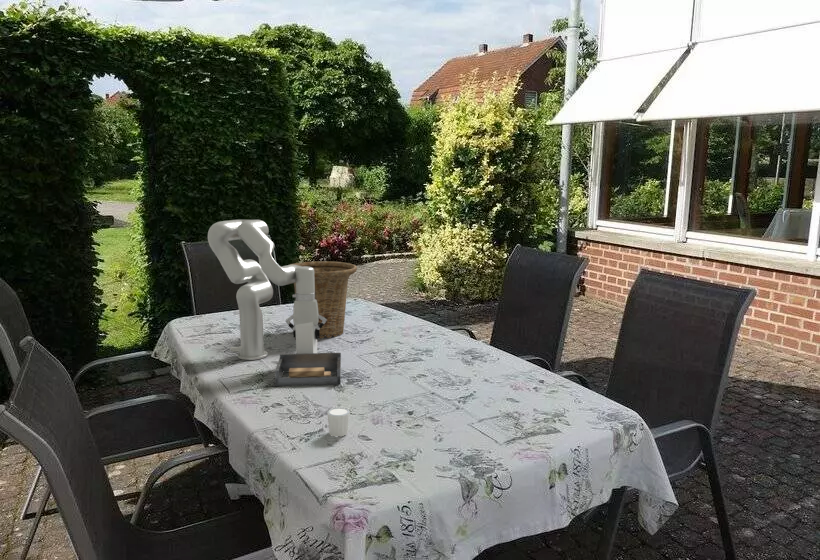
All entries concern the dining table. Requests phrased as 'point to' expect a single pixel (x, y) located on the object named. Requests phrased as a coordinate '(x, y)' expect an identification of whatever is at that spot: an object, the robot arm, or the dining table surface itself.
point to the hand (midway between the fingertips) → (306, 338)
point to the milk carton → (306, 338)
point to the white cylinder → (338, 421)
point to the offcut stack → (308, 372)
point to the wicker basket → (330, 293)
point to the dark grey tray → (308, 361)
